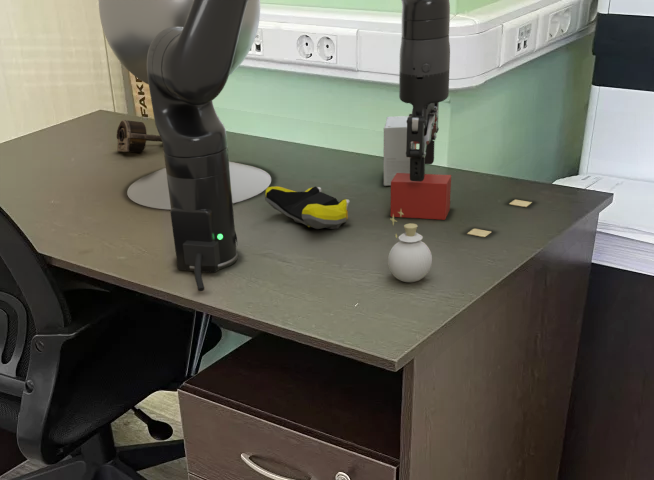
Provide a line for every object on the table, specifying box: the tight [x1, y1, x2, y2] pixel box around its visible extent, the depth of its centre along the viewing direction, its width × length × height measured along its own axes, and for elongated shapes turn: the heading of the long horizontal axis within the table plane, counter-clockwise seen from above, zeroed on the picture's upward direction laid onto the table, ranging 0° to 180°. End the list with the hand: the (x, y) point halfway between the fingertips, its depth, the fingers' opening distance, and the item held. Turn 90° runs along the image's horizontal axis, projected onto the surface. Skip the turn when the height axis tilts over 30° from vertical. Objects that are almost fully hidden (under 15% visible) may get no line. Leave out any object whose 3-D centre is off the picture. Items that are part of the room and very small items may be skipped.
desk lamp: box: [98, 0, 272, 211], centre depth 153 cm, size 28×28×45 cm
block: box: [390, 173, 452, 221], centre depth 142 cm, size 4×9×6 cm, turn 70°
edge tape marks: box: [466, 199, 533, 238], centre depth 139 cm, size 17×3×1 cm, turn 141°
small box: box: [383, 115, 417, 187], centre depth 156 cm, size 8×6×10 cm
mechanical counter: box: [116, 119, 162, 153], centre depth 186 cm, size 7×13×10 cm
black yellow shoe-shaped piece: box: [264, 186, 350, 230], centre depth 142 cm, size 15×6×10 cm
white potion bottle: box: [387, 211, 433, 283], centre depth 119 cm, size 6×8×10 cm
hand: (422, 171), depth 140 cm, fingers open, 8 cm apart
